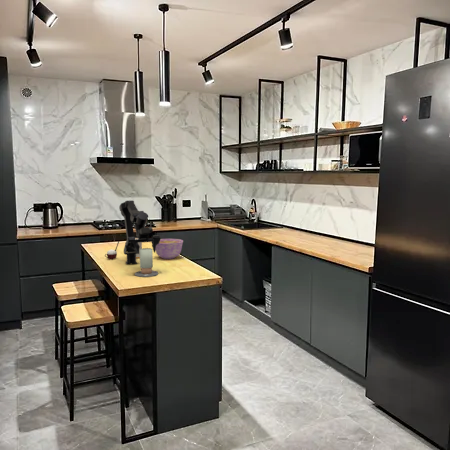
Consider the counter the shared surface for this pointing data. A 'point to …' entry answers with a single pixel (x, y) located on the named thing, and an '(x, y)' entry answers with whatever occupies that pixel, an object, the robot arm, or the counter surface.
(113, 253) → the cocoa
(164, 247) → the bowl of food
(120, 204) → the robot arm
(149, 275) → the cup on gray saucer
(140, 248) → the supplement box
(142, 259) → the white cylinder
